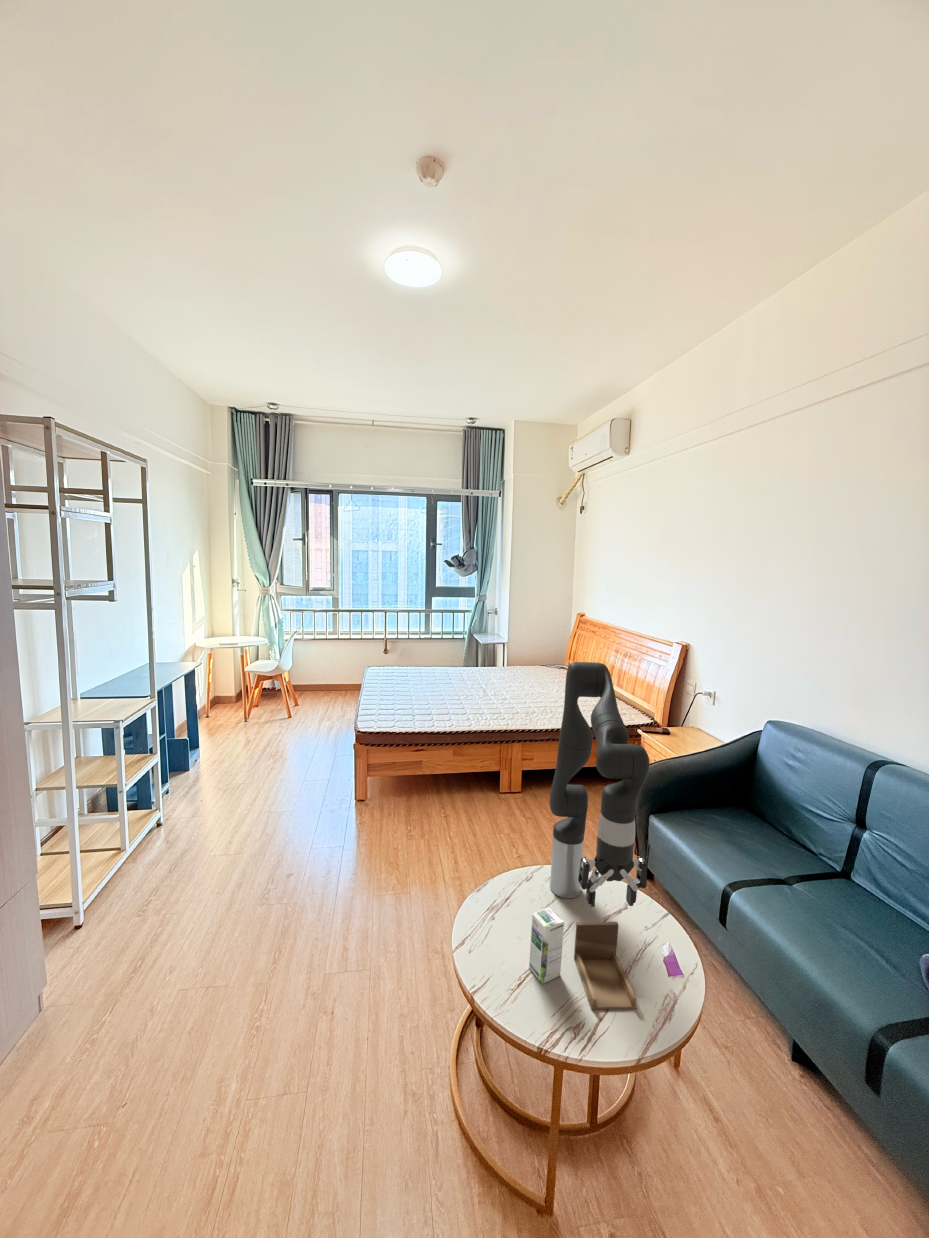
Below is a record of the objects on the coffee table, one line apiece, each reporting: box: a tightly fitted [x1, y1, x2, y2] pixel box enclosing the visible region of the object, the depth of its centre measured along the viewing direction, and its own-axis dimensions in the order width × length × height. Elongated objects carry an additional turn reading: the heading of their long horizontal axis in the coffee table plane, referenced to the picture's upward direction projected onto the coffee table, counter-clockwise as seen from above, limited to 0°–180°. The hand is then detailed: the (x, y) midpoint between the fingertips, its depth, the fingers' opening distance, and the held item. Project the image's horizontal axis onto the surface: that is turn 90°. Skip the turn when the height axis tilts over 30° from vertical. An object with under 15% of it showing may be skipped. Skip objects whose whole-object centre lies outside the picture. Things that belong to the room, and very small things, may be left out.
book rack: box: [573, 921, 637, 1011], centre depth 116 cm, size 14×10×10 cm
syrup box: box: [528, 907, 565, 985], centre depth 118 cm, size 6×6×14 cm
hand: (610, 903), depth 106 cm, fingers open, 8 cm apart
